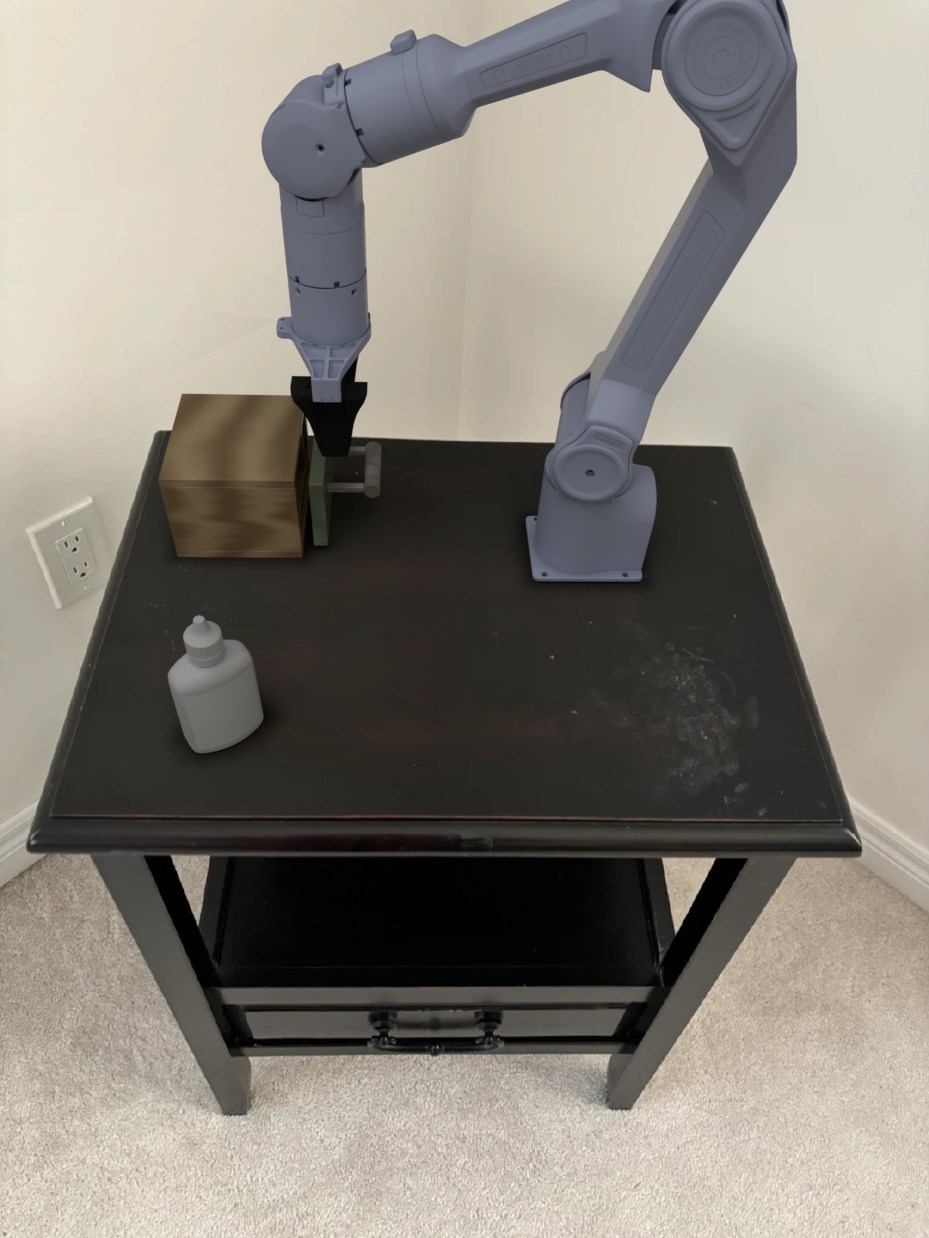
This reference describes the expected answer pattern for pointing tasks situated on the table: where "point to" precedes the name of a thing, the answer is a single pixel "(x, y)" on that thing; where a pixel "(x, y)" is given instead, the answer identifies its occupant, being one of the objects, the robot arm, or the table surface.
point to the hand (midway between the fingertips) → (337, 425)
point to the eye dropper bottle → (214, 689)
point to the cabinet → (236, 476)
